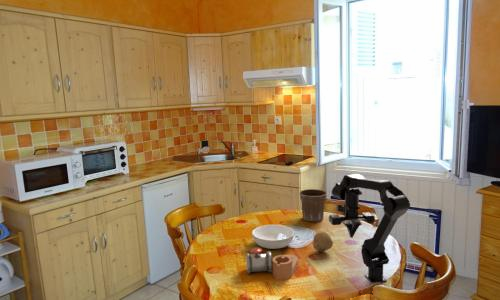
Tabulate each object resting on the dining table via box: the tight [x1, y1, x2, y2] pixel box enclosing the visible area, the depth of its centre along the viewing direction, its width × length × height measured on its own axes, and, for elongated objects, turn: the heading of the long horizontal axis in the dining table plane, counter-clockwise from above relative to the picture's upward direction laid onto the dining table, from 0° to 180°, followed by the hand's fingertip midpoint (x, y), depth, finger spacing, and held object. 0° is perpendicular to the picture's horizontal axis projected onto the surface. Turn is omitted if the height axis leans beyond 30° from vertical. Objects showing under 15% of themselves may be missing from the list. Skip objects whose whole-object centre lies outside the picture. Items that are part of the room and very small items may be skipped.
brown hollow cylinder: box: [272, 254, 299, 280], centre depth 158 cm, size 18×8×7 cm, turn 159°
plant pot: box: [298, 188, 328, 223], centre depth 217 cm, size 16×16×16 cm
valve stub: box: [245, 247, 273, 274], centre depth 157 cm, size 10×9×10 cm
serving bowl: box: [251, 224, 295, 250], centre depth 183 cm, size 21×21×7 cm
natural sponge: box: [312, 230, 334, 253], centre depth 173 cm, size 9×9×10 cm
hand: (351, 237), depth 160 cm, fingers closed
